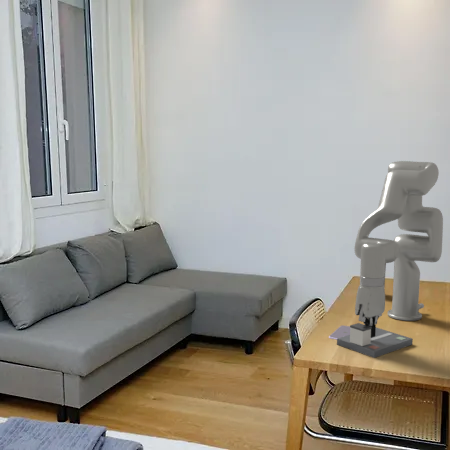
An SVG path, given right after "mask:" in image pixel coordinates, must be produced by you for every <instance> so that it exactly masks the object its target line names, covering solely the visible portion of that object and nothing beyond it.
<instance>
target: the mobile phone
mask: <svg viewBox="0 0 450 450" xmlns="http://www.w3.org/2000/svg"><path fill="white" fill-rule="evenodd" d="M350 328H351V327H350V325H340V326H339V327H338V328H336V329H335V331H334V332H332V333H331V334H329V336H328V338H329V339H331V340H336V341H337V338H341V337H344V336H347V335H350Z"/></svg>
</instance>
